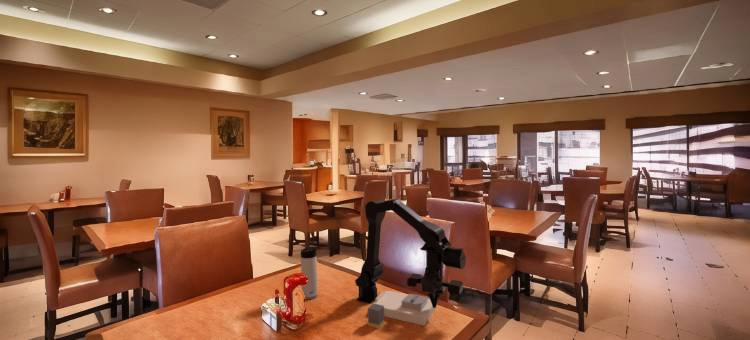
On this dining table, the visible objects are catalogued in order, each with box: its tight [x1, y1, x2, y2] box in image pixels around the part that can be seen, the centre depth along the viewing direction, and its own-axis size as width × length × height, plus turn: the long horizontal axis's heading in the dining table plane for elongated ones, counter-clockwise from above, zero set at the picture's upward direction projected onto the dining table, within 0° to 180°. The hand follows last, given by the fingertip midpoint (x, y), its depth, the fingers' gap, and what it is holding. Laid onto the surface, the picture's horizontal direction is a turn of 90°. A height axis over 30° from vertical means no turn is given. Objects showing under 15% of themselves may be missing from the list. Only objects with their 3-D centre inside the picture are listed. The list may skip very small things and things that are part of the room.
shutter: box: [402, 293, 429, 311], centre depth 124 cm, size 7×7×3 cm
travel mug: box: [300, 246, 319, 301], centre depth 139 cm, size 6×7×20 cm
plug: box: [367, 303, 385, 329], centre depth 116 cm, size 4×4×6 cm
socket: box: [372, 290, 438, 326], centre depth 126 cm, size 20×14×4 cm
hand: (434, 307), depth 121 cm, fingers closed
